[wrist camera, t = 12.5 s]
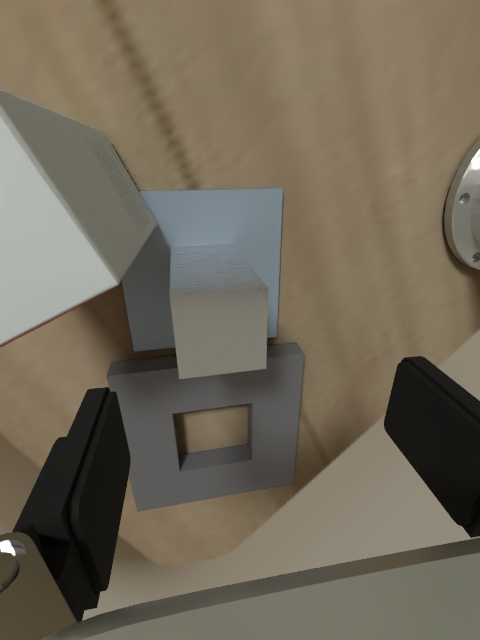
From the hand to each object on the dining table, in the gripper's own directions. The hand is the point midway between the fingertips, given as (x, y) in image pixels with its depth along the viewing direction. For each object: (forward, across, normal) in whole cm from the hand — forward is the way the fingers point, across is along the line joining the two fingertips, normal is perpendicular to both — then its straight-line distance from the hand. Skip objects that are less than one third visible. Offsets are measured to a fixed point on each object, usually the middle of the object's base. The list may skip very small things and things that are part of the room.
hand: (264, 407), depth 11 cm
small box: (+16, +9, -5) cm, 19 cm away
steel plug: (+16, +1, 0) cm, 16 cm away
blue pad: (+16, +1, 0) cm, 16 cm away
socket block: (+16, +1, +15) cm, 22 cm away
